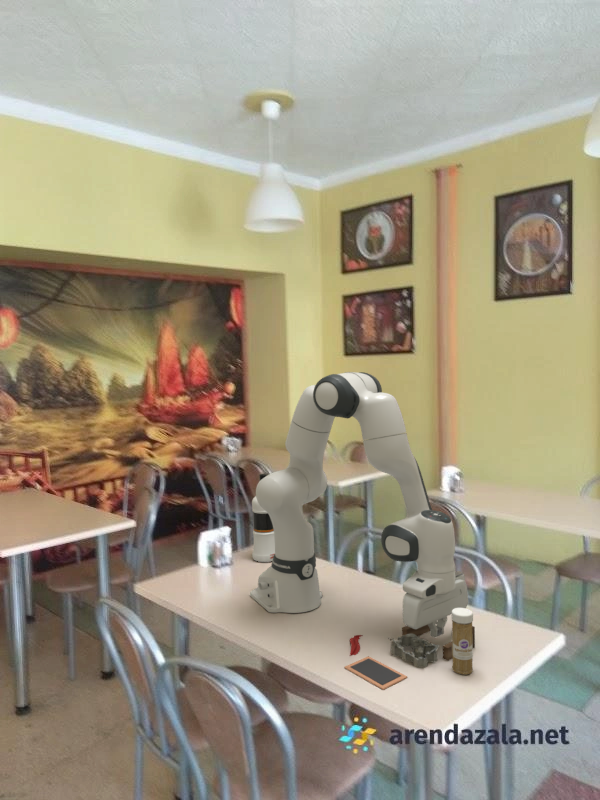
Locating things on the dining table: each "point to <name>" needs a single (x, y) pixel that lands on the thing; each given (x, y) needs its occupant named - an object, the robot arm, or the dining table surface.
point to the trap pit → (376, 672)
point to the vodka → (262, 532)
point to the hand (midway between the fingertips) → (437, 635)
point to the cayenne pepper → (355, 645)
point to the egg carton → (419, 647)
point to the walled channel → (422, 630)
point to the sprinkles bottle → (462, 640)
